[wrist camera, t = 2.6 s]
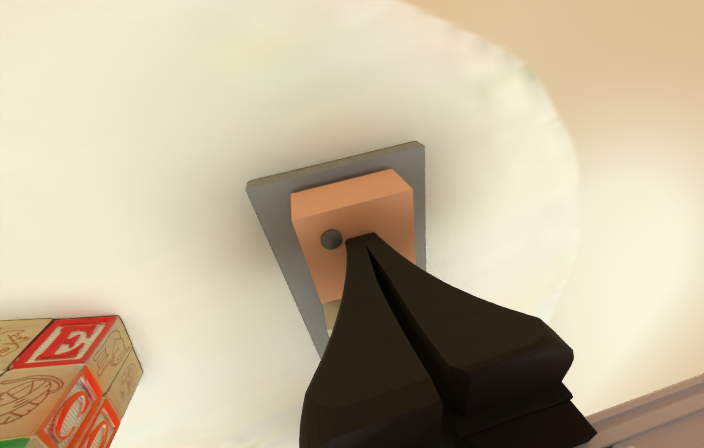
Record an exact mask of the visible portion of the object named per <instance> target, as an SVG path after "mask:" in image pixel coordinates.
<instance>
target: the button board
mask: <svg viewBox="0 0 704 448" xmlns="http://www.w3.org/2000/svg"><path fill="white" fill-rule="evenodd" d="M388 169H393V170H394V171H395V172H396V173H397V174H398V175H399V176H400V177H401V178H402V179H403V180H404V181H405V182H406V183H407V184H408V185H409V186H410V187H411V188H412V189H413V206H414V230H415V254H416V266H418V267H419V268H421V269H422V270H424V271H426V238H425V155H424V145H422V144H420V143H419V142H417V141H414V142H410V143H406V144H402V145H398V146H393V147H389V148H385V149H381V150H377V151H373V152H369V153H365V154H360V155H356V156H352V157H348V158H344V159H340V160H336V161H332V162H327V163H323V164H319V165H315V166H311V167H307V168H303V169H299V170H294V171H290V172H286V173H282V174H278V175H274V176H270V177H266V178H261V179H257V180H253V181H249V182H248V184H247V187H246V192H247V194H248V196H249V199H250V201H251V203H252V205H253V208H254V210H255V212H256V214H257V217H258V219H259V221H260V223H261V226H262V228H263V230H264V232H265V235H266V237H267V239H268V241H269V244H270V246H271V248H272V250H273V253H274V255H275V257H276V259H277V262H278V264H279V266H280V268H281V271H282V273H283V275H284V277H285V280H286V282H287V284H288V286H289V289H290V291H291V293H292V295H293V298H294V300H295V302H296V304H297V307H298V309H299V311H300V313H301V316H302V318H303V320H304V322H305V325H306V327H307V329H308V331H309V334H310V336H311V338H312V340H313V343H314V345H315V347H316V349H317V352H318V354H319V356H320V358H321V359H322V356H323V354H324V351H325V349H326V346H327V344H328V341H329V339H330V337H329V335H328V332H327V327H326V321H325V314H324V308H323V304H321V301H320V298H319V295H318V293H317V290H316V287H315V284H314V281H313V279H312V276H311V273H310V270H309V268H308V265H307V262H306V259H305V256H304V254H303V251H302V248H301V245H300V243H299V240H298V237H297V234H296V231H295V229H294V226H293V223H292V218H291V194H292V193H296V192H300V191H304V190H308V189H312V188H316V187H320V186H324V185H328V184H332V183H336V182H340V181H344V180H348V179H352V178H356V177H360V176H364V175H368V174H372V173H376V172H380V171H384V170H388Z"/></svg>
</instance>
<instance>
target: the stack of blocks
mask: <svg viewBox="0 0 704 448" xmlns="http://www.w3.org/2000/svg"><path fill="white" fill-rule="evenodd" d="M142 374H143V372H142V370H141V367H140V365H139V362H138V360H137V358H136V355H135V353H134V351H133V349H132V344H131V342H130V340H129V337H128V335H127V333H126V331H125V328H124V326H123V324H122V322H121V320H120V318H119V317H118V316H110V317H94V318H78V319H59V320H56V321H54V320H53V319H32V320H10V321H0V448H109V447H110V445H111V443H112V440H113V438H114V436H115V434H116V432H117V430H118V427H119V425H120V421H121V419H122V418H123V416H124V414H125V412H126V409H127V407H128V405H129V403H130V401H131V398H132V396H133V394H134V392H135V390H136V388H137V385H138V383H139V381H140V379H141V377H142Z"/></svg>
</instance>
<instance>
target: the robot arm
mask: <svg viewBox="0 0 704 448" xmlns="http://www.w3.org/2000/svg"><path fill="white" fill-rule="evenodd" d="M345 245H346V251H347V263H346V275H345V282H344V288H343V294H342V299H341V303H340V307H339V311H338V314H337V318H336V321H335V324H334V327H333V330H332V333H331V336H330V339H329V341H328V344H327V346H326V349H325V351H324V354H323V356H322V359H321V361H320V363H319V366H318V368H317V370H316V372H315V374H314V376H313V378H312V380H311V382H310V385H309V387H308V389H307V391H306V393H305V398H304V403H303V409H302V415H301V423H300V437H299V448H704V373H703V374H700V375H698V376H695V377H692V378H690V379H687V380H684V381H681V382H679V383H676V384H673V385H671V386H668V387H665V388H662V389H660V390H657V391H654V392H652V393H649V394H646V395H643V396H641V397H638V398H635V399H633V400H630V401H627V402H624V403H622V404H619V405H616V406H614V407H611V408H608V409H605V410H603V411H600V412H598V413H595V414H592V415H589V416H587V417H584V416H583V415H582V414H581V412H580V411H579V410H578V409H577V408H576V407H575V405H574V404H573V403H572V402H571V401H570V399H572V398H573V396H572V394H571V392H570V391H569V390H568V389H567V388H566V386H565V385H564V384H563V383H562V380H563V378H564V377H565V375H566V373H567V371H568V370H569V368H570V367H571V364H572V362H573V360H574V355H573V350H572V349H571V348H570V347H569V346H568V345H567V344H566V343H565V342H564V341H563V340H562V339H561V338H560V337H559V336H558V335H557V334H556V333H555V332H554V331H553V330H552V329H551V328H550V327H549V326H548V325H547V324H545V323H544V322H543V321H542V320H541V319H540V318H537V317H534V316H531V315H527V314H524V313H521V312H518V311H514V310H511V309H508V308H505V307H502V306H499V305H496V304H494V303H491V302H488V301H486V300H483V299H480V298H478V297H475V296H473V295H471V294H469V293H466V292H464V291H462V290H460V289H457V288H455V287H453V286H451V285H449V284H447V283H445V282H443V281H441V280H439V279H438V278H436V277H434V276H432V275H431V274H429V273H427V272H426V271H424V270H422V269H421V268H419V267H418V266H416V265H415V264H413V263H412V262H410V261H409V260H408V259H406V258H405V257H404V256H402V255H401V254H400V253H398V252H397V251H396V250H394V249H393V248H392V247H391V246H390V245H388V244H387V243H386V242H385V241H384V240H383V239H382V238H380V237H379V236H378V235H377V234H376V233H374V232H372V233H369V234H365V235H361V236H358V237H354V238H350V239H347V240H346V241H345Z"/></svg>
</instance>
